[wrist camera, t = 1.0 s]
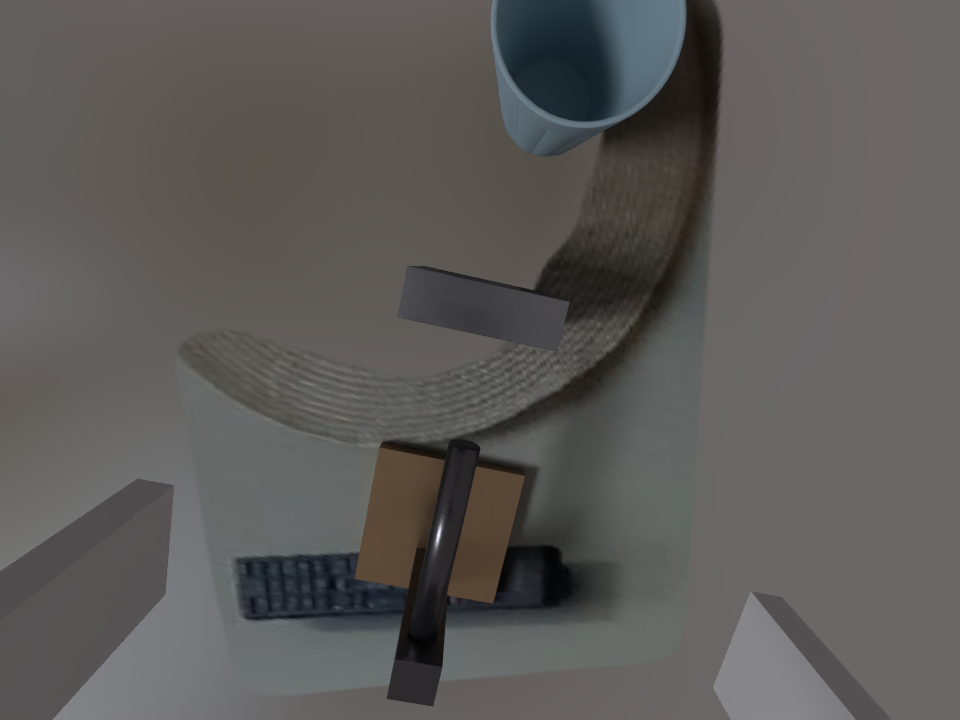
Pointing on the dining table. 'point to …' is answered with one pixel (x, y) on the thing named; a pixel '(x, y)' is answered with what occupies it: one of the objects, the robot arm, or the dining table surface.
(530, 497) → the dining table surface
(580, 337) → the dining table surface
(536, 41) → the cup
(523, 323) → the link
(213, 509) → the dining table surface
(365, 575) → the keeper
